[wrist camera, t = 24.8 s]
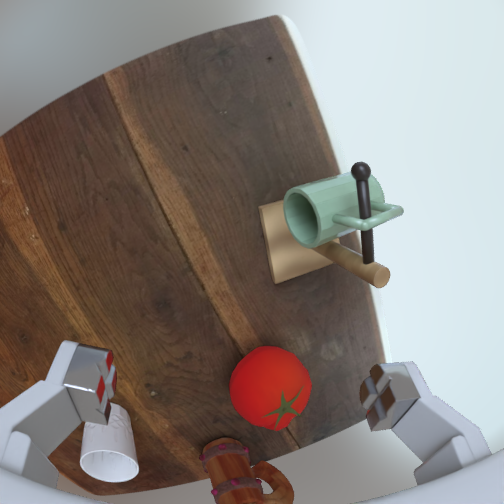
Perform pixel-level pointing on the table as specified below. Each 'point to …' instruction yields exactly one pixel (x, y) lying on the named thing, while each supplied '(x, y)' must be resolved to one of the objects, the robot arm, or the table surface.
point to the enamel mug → (333, 209)
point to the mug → (242, 475)
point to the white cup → (110, 448)
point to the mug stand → (306, 260)
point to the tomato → (270, 387)
